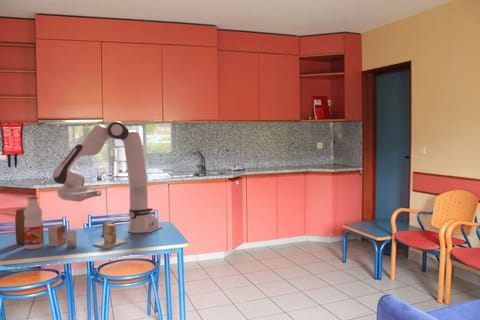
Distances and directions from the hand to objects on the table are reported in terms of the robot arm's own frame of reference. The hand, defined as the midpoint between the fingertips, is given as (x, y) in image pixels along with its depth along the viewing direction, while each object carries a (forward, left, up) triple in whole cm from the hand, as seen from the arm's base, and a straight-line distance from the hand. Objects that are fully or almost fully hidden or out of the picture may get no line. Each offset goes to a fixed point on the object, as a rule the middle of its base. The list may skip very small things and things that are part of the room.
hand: (93, 195), depth 239 cm
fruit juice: (+26, -17, -27) cm, 41 cm away
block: (+23, -31, -27) cm, 47 cm away
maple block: (0, +14, -26) cm, 29 cm away
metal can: (+16, +2, -27) cm, 31 cm away
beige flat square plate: (0, +14, -27) cm, 30 cm away
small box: (+16, -11, -27) cm, 33 cm away
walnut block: (-16, -7, -27) cm, 32 cm away
